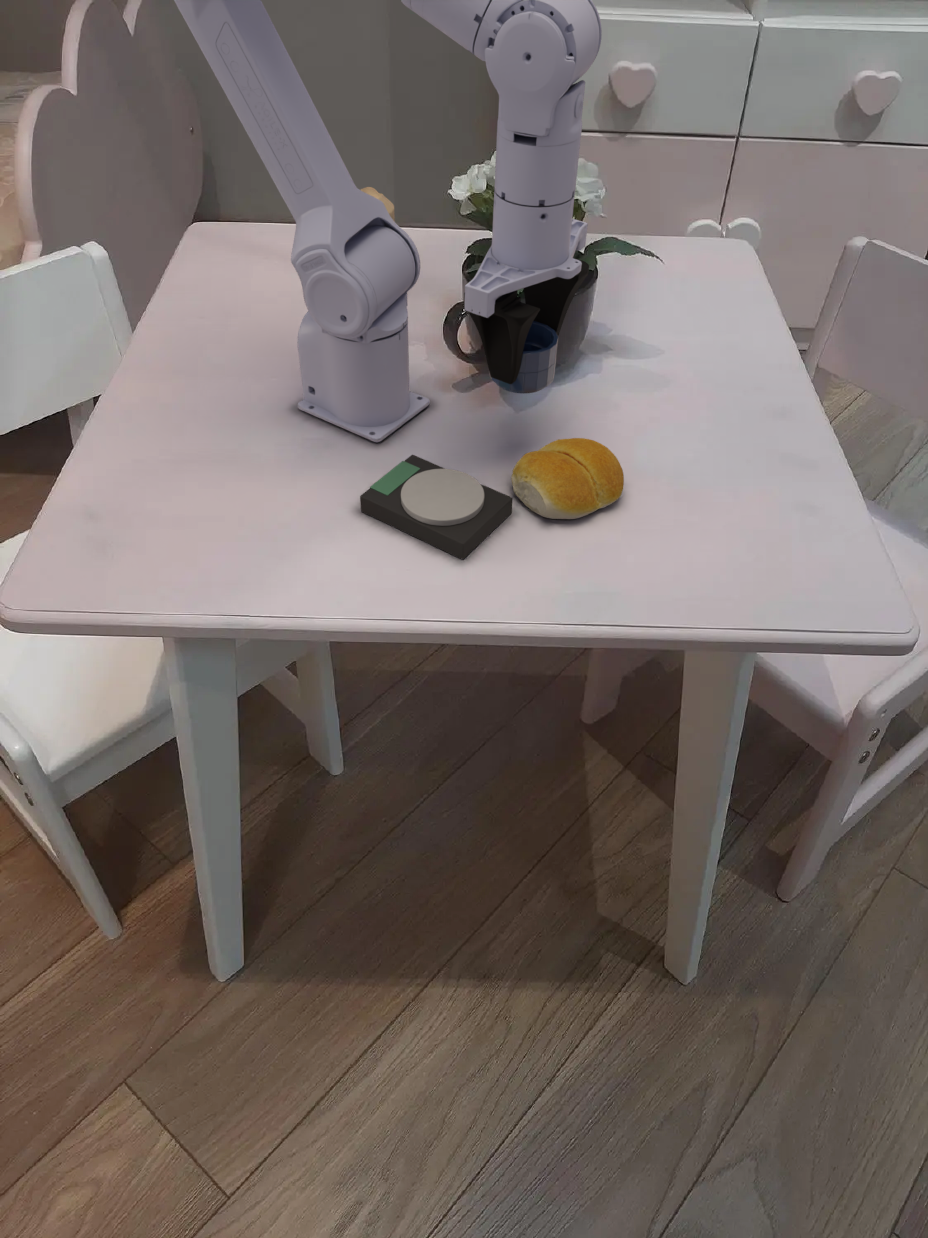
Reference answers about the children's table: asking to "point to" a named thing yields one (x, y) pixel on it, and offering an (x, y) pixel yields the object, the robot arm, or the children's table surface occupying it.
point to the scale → (437, 505)
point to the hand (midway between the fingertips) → (521, 363)
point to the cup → (535, 361)
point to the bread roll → (568, 478)
